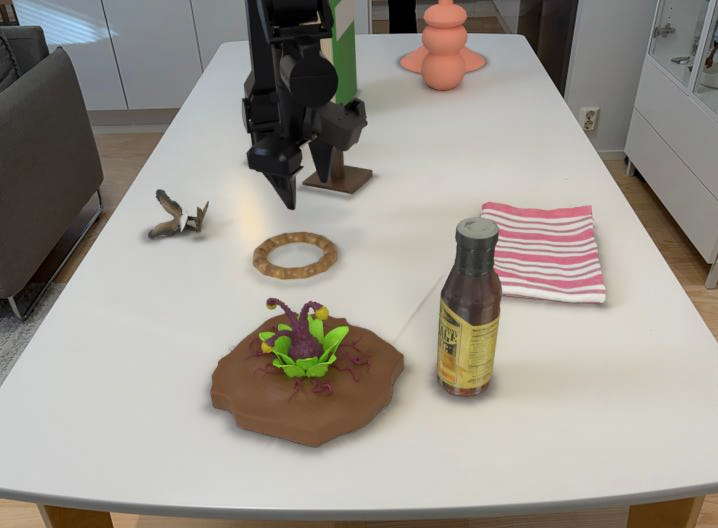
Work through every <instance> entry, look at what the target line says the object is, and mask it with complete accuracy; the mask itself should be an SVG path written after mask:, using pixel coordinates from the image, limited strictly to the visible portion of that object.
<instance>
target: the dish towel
mask: <svg viewBox="0 0 718 528" xmlns="http://www.w3.org/2000/svg"><path fill="white" fill-rule="evenodd" d="M592 209H593V207H592V205H591V204H586V205H579V206H575V207H561V208H555V209H542V208H525V207H517V206H512V205H509V204H506V203H500V202H493V201H488V202H484V203H482V205H481V212H480V215H479V217H482V218H486V219H490V220H492V221H494V222H495V223H496V224H497V226H498V227H499V237H498V242H497V244H496V245H495V254H494V262H495V264H494V267H493V269H494V270H495V272H496V273H497V274H498V276H499V279H500V282H501V286H502V295H501V296H507V297H516V298H517V297H518V298H525V299H535V300H542V301H543V300H546V301H553V302H563V303H581V304H582V303H583V304H598V305H599V304H600V305H602V304H604V303H605V301H606V297H607V293H606V292H607V288H606V286H605V283H604V280H603V271H602V266H601V263H600V259H599V256H598V255H599V250H598V244H597V242H596V237H595V235H594V234H595V233H594V231H595V222H594V220H595V219H594V216H593V210H592Z"/></svg>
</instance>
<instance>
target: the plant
mask: <svg viewBox="0 0 718 528" xmlns="http://www.w3.org/2000/svg"><path fill="white" fill-rule="evenodd" d="M265 306H266V308H267V309H268V310H271V311H272V310H275V309H276V308H277V307H278V306H279V307H280V309H281V310H283V311H284V313H281V314H278V315H275V316H272V317H270V318H268V319H267V320H265V321H264V322H263V323H262V324H260V325H259V326H258V327H257V328H256V329H255V330H253V331H251V333H249V334H247V336H245V337H243V339H242V340H241V341H239V343H238V344H237V345H236V346H235V347H234V348H232V350H230V352H229V353H227V354H226V355H224V356H223V357H221V358H220V359H219V360H218V361H217V365H216V367H215V369H214V370H213V372H212V374H211V382H212V384H211V388H210V392H209V394H210V398H211V403H212V406H213V408H215V409H221V410H225V411H227V412H229V414H231V415H232V416H233V418H234V421H235V424H236V426H237V427H239V428H241V429H243V430H245V431H250V432H256V433H260V434H263V435H266V436H267V435H268V436H272V437H277V438H280V439H284V440H287V441H290V442H293V443H297V444H301V445H304V446H308V447H319V446H321V445H323V444H325V443H327V442H329V441H331V440H333V439H335V438H336V437H339V436H341V435H343V434H344V435H345V434H347V433H353V432H354V431H357V430H358V429H360V428H362V427H364V426H365V425H367V424H368V423H370V421H372V420H373V418H375V416H376V415H378V413H380V411H382V410H383V409H384V408H385V407H386V406H387V405H388V404H389V403H390V402H391V400H392V398H393V385H394V382H395V381H396V379H397V378H398V377H399V375H400V374H401V373H402V372H403V370H404V369H405V358H404V354H403V353H402V352H400V351H399V350H398V349H397V348H396V347H395V346H394V345H392V344H390V342H388V341H387V340H384V339H383V338H382V337H380V336H379V335H378V334H376V332H374V331H372V330H370V329H368V328H366V327H361V326H357V325H352V324H351V323H349V322H348V320H347V318H346V317H334V316H331V315H330V311H329V308H327V307H326V306H325V305H324V304H321V303H320V302H317V301H312V300H309V301H308V302H306V303H304V304H303V306H302V308H301V309H300V312H299V313H297V312H296V311H293V310H291V309H292V308H291V307H289V305H288V304H286V303H285V302H284V301H282V300H280V299H279V298H277V297H269V298H267V299H266V301H265ZM310 308H311V309H312V310H313V313H311V314H310V313H309V312H310Z"/></svg>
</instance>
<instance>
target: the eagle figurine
mask: <svg viewBox="0 0 718 528" xmlns="http://www.w3.org/2000/svg"><path fill="white" fill-rule="evenodd" d="M155 198H156V200H157V202H159V205H161V207H162V208H163V210H164V211H165V212H166V213H167V214H169V215H171V216H172V217H173V219H171V220H167V221H164V222H159V223H158V224H156V225H155V227H154V228H153V229H151V230H149V231H148V233H147V235H148V236H147V237H148V238H149V239H155V238H158V237H163V236H164V237H170V236H172V235H174V234H175V232H176V231H177V229H179V228H180V232H181V233H182V232H183V230H184V229H185V230H188V231H192V232H195V233H196V234H200V233H201V230H202V227H203V220H204V219H205V216H206V213H207V212H208V208H209V206H210V205H209V203H210V201H209V200H207V201H206V203H205V205H204V207H203V209H202V208H201V207H199V206H196V216H192V215H189V213H188V211H187V210H185V211H184V210H183V207H182V206H181V205H180V204H179V203H178V202H177V201H176V200H173V199H171V197H170V196H169V195H168V194H167V193H166V190H164V189H161V188H160V189H159V188H157V189H156V190H155ZM183 211H184V213H183ZM192 221H194V223H195V227H194V226H193V225H191V224H189V223H188V222H192Z"/></svg>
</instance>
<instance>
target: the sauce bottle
mask: <svg viewBox="0 0 718 528" xmlns="http://www.w3.org/2000/svg"><path fill="white" fill-rule="evenodd" d="M498 237H499V227H498V226H497V224H496V223H495V222H494V221H492V220H490V219H486V218H482V217H480V216H474V217H473V216H472V217H467V218H464V219H462V220H460V221H459V222H458V223H457V224H456V228H455V235H454V238H455V242H456V246H455V247H456V248H455V258H454V262H453V265H452V267H451V269H450V271H449V274H448V276H447V278H446V280H445V282H444V284H443V286H442V288H441V290H440V298H439V313H438V331H437V347H436V348H437V349H436V351H437V352H436V372H437V374H436V375H437V376H436V377H437V382H438V383H439V385H440V386H441V387H442V388H443V389H444V390H446V392H448V393H449V394H451V395H453V396H462V397H471V396H476V395H478V394H482V393H483V392H484V391H486V390H487V389H488V387H489V385H490V381H491V378H492V375H493V372H494V371H493V370H494V365H495V356H496V349H497V341H498V333H499V326H500V318H501V301H502V296H503V295H502V286H501V282H500V279H499V276H498V274H497V273H496V272H495V270H494V269H493V267H494V264H495V262H494V254H495V245H496V244H497V242H498Z"/></svg>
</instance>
